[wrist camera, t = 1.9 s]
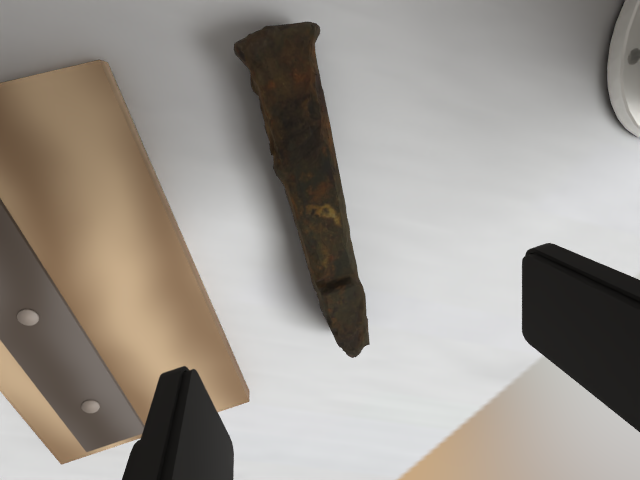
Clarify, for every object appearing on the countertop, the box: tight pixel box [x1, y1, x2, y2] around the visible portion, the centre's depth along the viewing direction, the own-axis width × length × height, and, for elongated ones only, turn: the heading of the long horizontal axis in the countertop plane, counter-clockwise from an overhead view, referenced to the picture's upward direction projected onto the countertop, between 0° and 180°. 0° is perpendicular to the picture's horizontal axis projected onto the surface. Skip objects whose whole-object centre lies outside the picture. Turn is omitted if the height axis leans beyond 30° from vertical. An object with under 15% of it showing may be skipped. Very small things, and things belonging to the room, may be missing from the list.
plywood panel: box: [0, 60, 249, 464], centre depth 20 cm, size 13×22×1 cm, turn 14°
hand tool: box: [234, 22, 370, 358], centre depth 19 cm, size 19×4×5 cm, turn 11°
